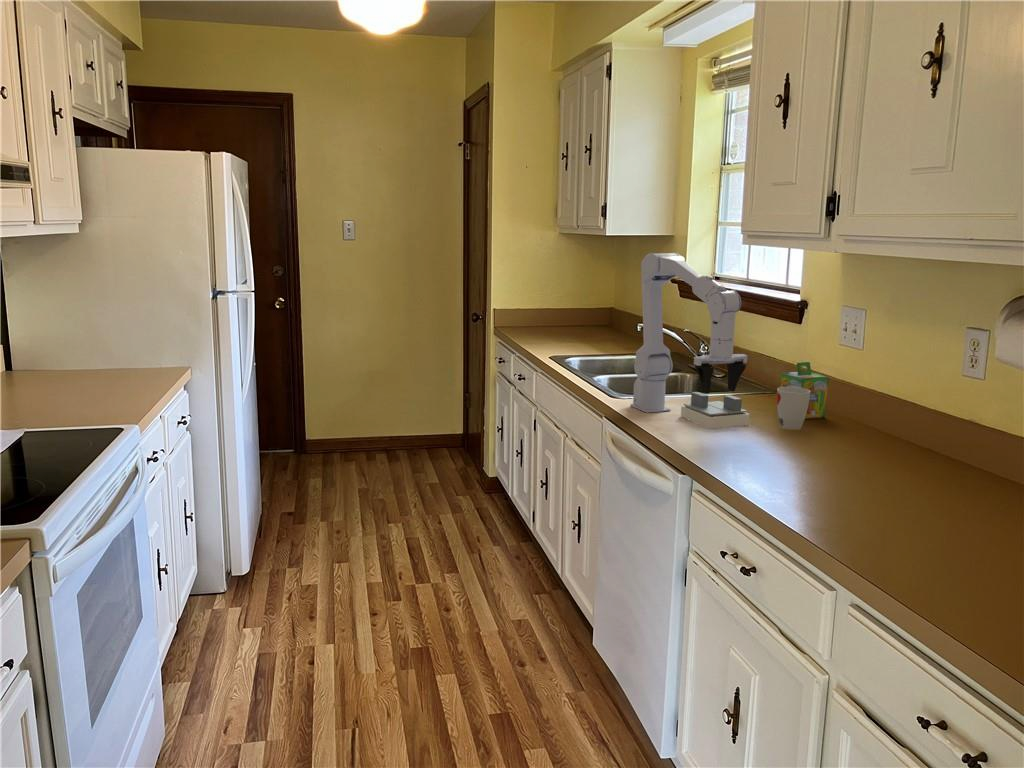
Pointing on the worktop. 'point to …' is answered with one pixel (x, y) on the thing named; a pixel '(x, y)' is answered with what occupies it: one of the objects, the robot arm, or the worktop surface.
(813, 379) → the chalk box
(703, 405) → the flap near
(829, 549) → the worktop surface
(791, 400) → the cup
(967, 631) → the worktop surface
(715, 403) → the flap far
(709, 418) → the carton
